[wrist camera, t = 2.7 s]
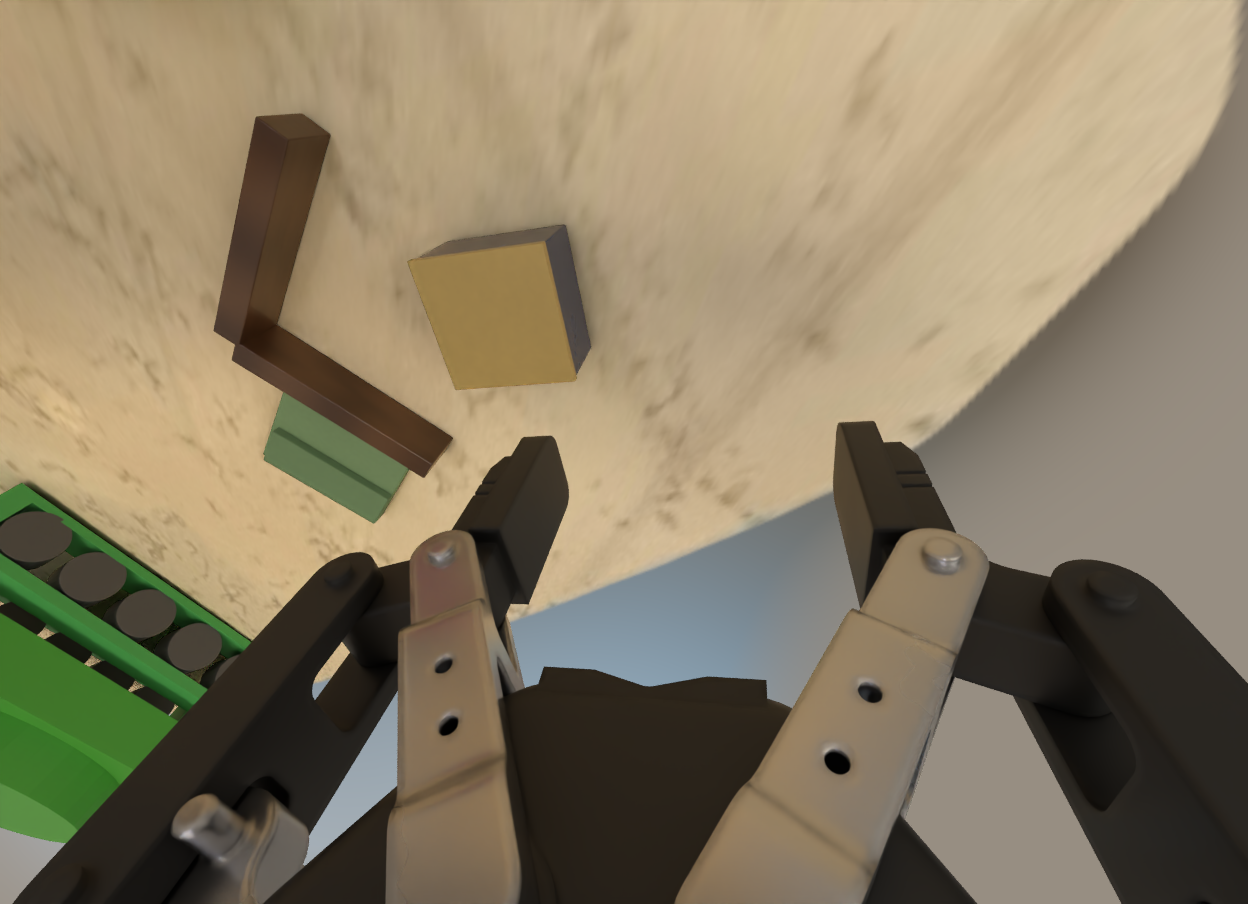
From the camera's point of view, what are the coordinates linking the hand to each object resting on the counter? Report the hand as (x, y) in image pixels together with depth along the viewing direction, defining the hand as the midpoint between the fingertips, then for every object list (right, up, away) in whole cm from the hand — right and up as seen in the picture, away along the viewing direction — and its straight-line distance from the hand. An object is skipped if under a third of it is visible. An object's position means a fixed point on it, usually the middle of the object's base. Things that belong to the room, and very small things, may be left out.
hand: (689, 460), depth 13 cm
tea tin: (-7, +9, +15) cm, 19 cm away
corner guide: (-19, +8, +18) cm, 27 cm away
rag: (-22, 0, +24) cm, 32 cm away
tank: (-56, -15, +42) cm, 72 cm away
